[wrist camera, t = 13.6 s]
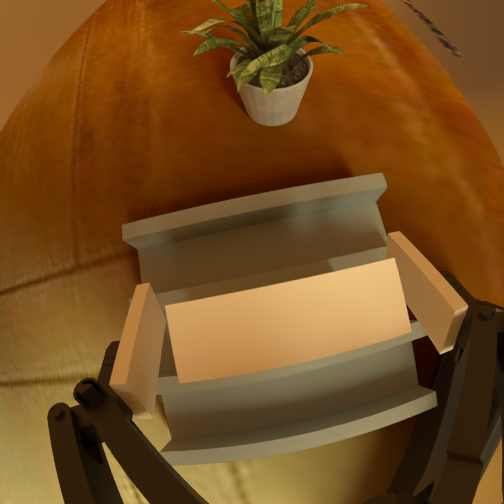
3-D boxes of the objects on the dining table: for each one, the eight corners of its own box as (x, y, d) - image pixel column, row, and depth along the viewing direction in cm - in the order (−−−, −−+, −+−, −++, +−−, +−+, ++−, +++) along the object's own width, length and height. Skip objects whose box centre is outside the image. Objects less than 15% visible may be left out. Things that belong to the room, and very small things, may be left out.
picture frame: (342, 331, 22) (411, 331, 11) (223, 356, 22) (179, 383, 11) (333, 289, 23) (393, 252, 11) (215, 314, 23) (164, 300, 12)
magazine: (373, 631, 8) (620, 353, 5) (341, 635, 8) (602, 349, 6) (359, 526, 25) (479, 298, 22) (335, 525, 25) (453, 291, 23)
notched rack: (412, 395, 22) (437, 405, 18) (180, 445, 22) (164, 465, 18) (366, 195, 26) (382, 172, 22) (143, 240, 26) (121, 224, 22)
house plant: (169, 94, 30) (122, -28, 14) (273, 44, 32) (271, -72, 16) (240, 186, 27) (210, 35, 11) (356, 119, 28) (402, -15, 12)
